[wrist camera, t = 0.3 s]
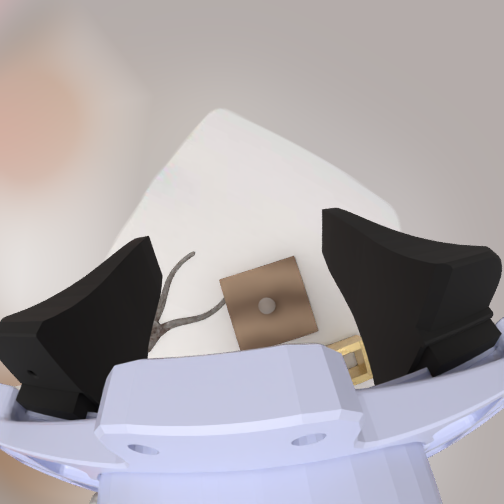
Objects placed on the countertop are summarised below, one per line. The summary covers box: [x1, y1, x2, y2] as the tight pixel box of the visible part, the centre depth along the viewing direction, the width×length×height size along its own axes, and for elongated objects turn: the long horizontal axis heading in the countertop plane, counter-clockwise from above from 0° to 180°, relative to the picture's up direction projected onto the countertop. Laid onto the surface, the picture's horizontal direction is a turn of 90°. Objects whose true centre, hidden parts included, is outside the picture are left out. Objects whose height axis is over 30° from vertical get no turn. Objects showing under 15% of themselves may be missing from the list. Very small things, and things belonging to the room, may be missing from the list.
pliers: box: [148, 252, 226, 352], centre depth 40 cm, size 10×1×20 cm
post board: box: [219, 256, 318, 351], centre depth 36 cm, size 11×11×6 cm
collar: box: [326, 335, 373, 385], centre depth 34 cm, size 6×6×5 cm
